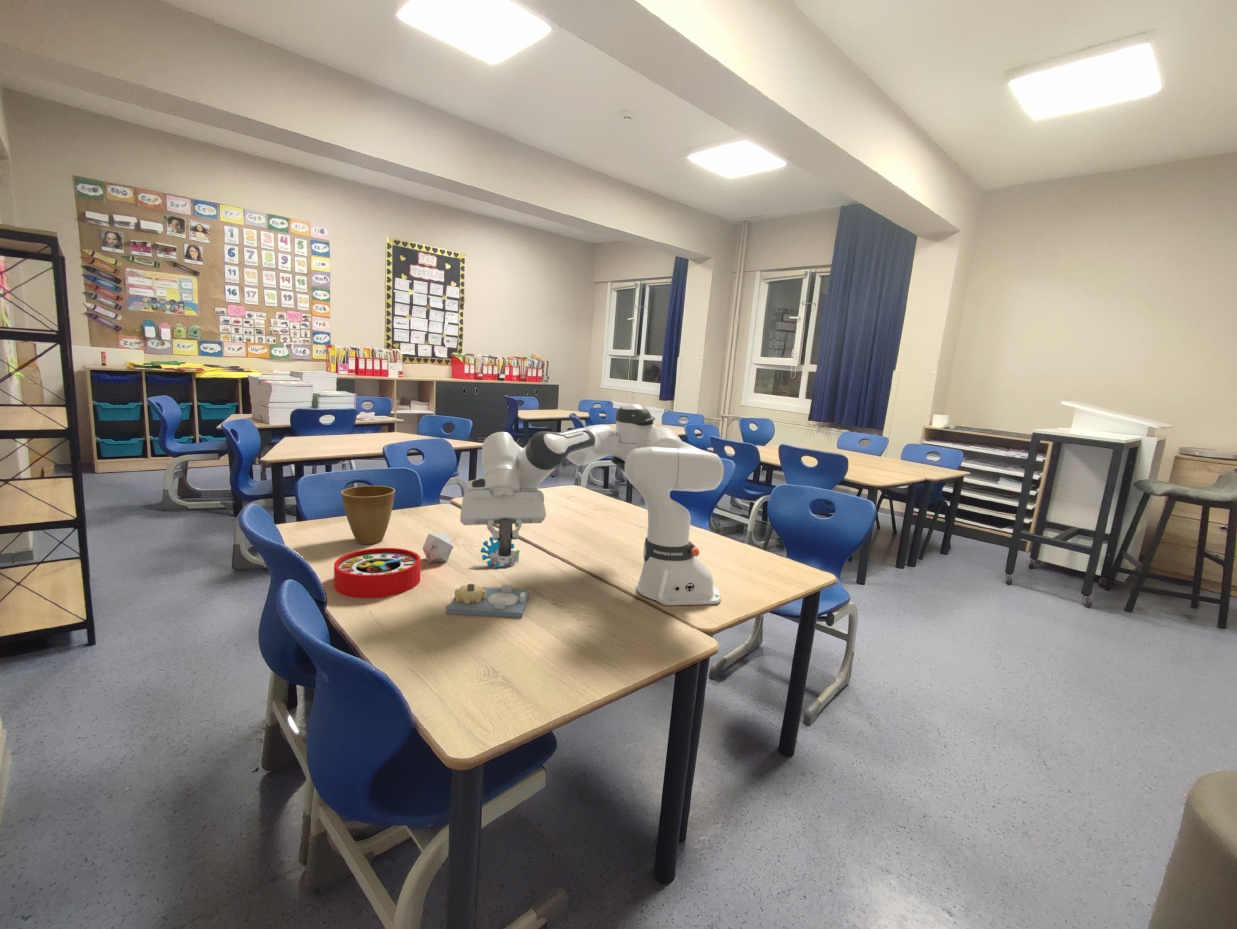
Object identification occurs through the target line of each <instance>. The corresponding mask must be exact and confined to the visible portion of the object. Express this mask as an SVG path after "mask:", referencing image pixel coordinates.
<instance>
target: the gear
mask: <svg viewBox="0 0 1237 929" xmlns="http://www.w3.org/2000/svg"><path fill="white" fill-rule="evenodd" d="M512 523H513V520H512V519H508V518H503V519H500V522H499V524H498V526H499V527H498V528H499V529H498V531H499V532H500V533H499V535H500V539H499V547H498V550H497V551H495V553H491V554H490V558H489V561H491V563H492V564H491V565H495V564H497V565H500V566H499V567H503V566H505V565H507V566H514V565H515V564H516V563H517V564H518V563H519V560H520V558H519V557H520V554H518V555H517V552H515V551H516V550H512V549H511V545H512V544H513V543H512V542H513V539H512V530H513V524H512ZM512 551H514V552H512Z"/></svg>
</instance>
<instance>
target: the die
mask: <svg viewBox="0 0 1237 929" xmlns="http://www.w3.org/2000/svg"><path fill="white" fill-rule="evenodd" d="M453 548H454V545H453V543H452V541H451V538H450V536H449V534H448V532H435V533H431V532H430V533H428V534H427V536H426V539H425V541H424V544H423V547H422V550H423V553H424V555H425V558H426V560H427V563H444V562H445V563H446V562H448V560H449V559H450V555H451V553H452V550H453Z"/></svg>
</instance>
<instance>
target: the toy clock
mask: <svg viewBox="0 0 1237 929" xmlns="http://www.w3.org/2000/svg"><path fill="white" fill-rule="evenodd" d="M420 583H421V555H419V554H418V553H417V552H415V551H413V550H410V549H405V548H400V547H398V548H397V547H376V548H375V547H374V548H366V549H361V550H357V551H353V552H350V553H347V554H344V555H342V556H340V557H339V558H337V559H336V560H335V561H334V564H333V584H334V590H335V591H336V592H337V594H340V595H343V596H346V597H348V598H355V599H380V598H387V597H392V596H397V595H399V594H403V593H406V592H408V591H410V590H412V589H414V588H415V587H417V586H418V585H419V584H420Z"/></svg>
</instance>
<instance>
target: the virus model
mask: <svg viewBox="0 0 1237 929" xmlns="http://www.w3.org/2000/svg"><path fill="white" fill-rule="evenodd" d="M488 540H489V541H487V540H484V541H483V543H482V544H483V546H482V547H481V548H480V553H482V557H481V558H482V561H486V560H487V559H490V554H491V553H495V551H497V550H498V547H499V540H496V542H494V541H495V540H493V537H492V536H489V539H488ZM489 542H490V545H489ZM486 548H487V549H486ZM514 548H515V543H512V545H511V551H512V552H514V551H515V552H517V555H520V552H521V551H520V550H519V549H517V550H512V549H514ZM483 553H484V554H483ZM486 554H487V555H486ZM486 565H488V566H489V567H491V566H492V565H493V564H492V563H491V561H490V560H487V562H486ZM500 567H501V566H500V565H497V564H494V568H496V569H499V568H500ZM507 567H508V565H505V566H502V568H507Z"/></svg>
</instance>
